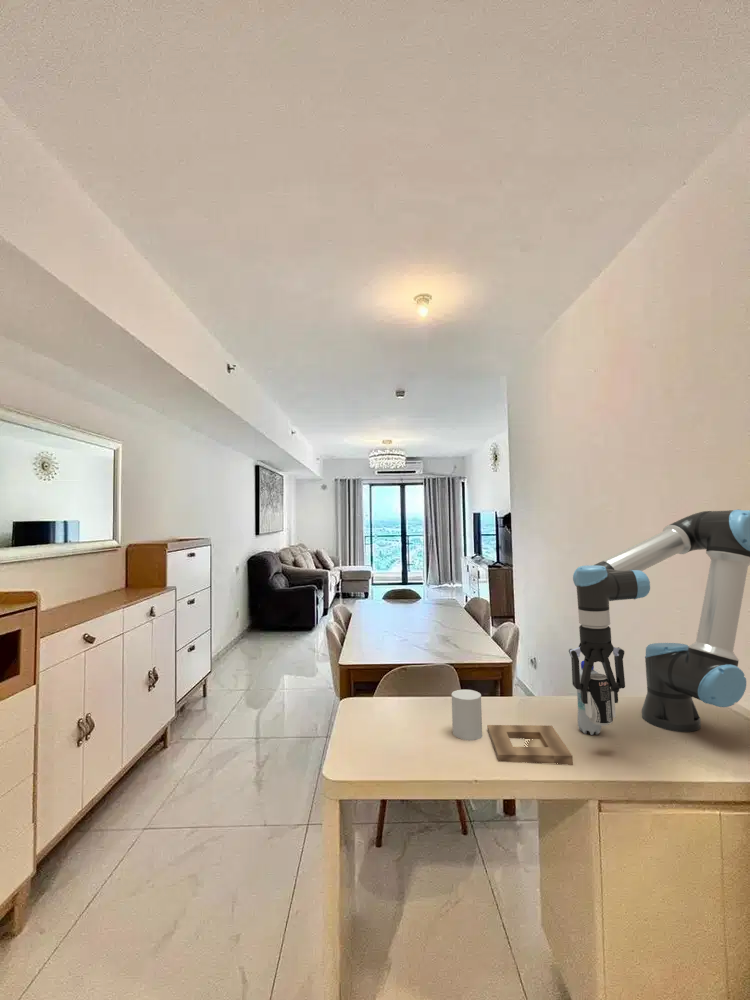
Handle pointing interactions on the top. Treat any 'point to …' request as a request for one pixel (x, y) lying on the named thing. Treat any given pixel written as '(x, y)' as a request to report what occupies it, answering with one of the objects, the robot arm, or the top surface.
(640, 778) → the top surface
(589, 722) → the bottle
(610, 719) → the beverage can
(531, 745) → the socket block
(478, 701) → the cup
